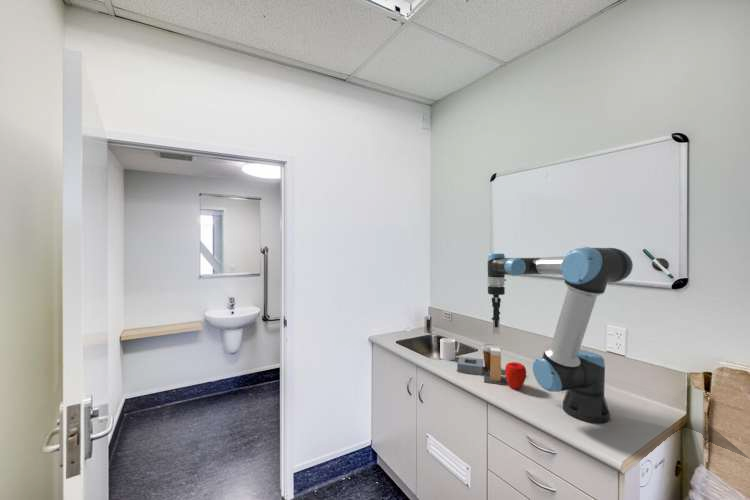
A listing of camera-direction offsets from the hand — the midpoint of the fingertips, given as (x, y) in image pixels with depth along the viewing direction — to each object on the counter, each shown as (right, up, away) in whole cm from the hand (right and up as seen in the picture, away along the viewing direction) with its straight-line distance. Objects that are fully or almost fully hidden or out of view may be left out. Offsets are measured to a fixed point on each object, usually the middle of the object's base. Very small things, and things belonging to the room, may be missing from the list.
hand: (496, 330), depth 154 cm
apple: (+6, -24, -8) cm, 26 cm away
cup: (-14, -23, +32) cm, 42 cm away
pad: (0, -23, 0) cm, 23 cm away
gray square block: (-8, -23, +14) cm, 28 cm away
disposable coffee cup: (+3, -24, +14) cm, 27 cm away
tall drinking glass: (0, -23, 0) cm, 23 cm away
